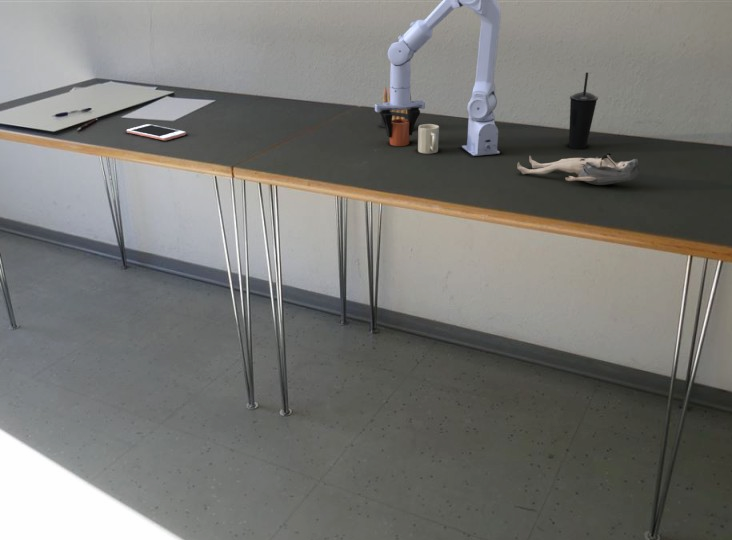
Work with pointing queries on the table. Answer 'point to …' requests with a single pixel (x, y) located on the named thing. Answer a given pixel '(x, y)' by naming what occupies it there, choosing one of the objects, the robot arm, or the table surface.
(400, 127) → the terracotta cup
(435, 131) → the cream cup
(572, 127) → the drinking cup
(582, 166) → the anime figure
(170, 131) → the cell phone
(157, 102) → the table surface
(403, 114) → the ammunition clip
